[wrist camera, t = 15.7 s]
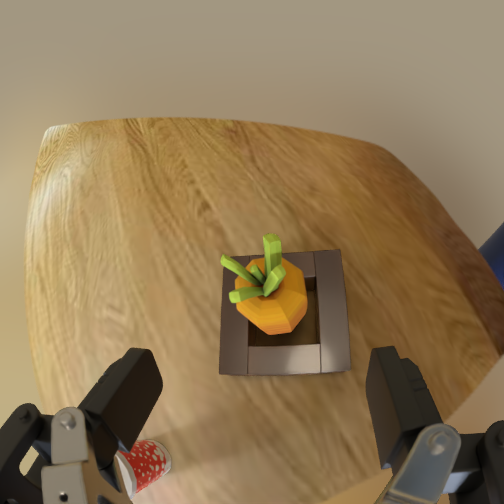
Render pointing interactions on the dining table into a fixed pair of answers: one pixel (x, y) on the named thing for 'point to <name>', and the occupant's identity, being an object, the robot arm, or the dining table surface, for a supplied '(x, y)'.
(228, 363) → the socket block
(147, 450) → the beverage cup
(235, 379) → the dining table surface
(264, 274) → the carrot
